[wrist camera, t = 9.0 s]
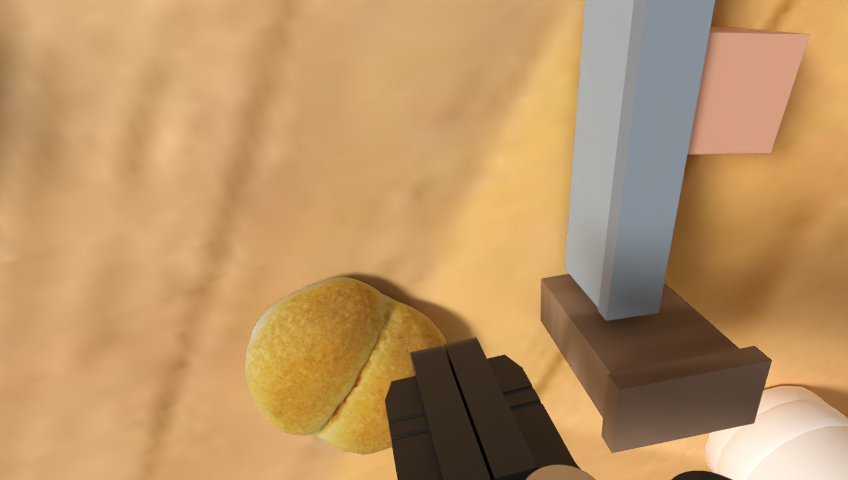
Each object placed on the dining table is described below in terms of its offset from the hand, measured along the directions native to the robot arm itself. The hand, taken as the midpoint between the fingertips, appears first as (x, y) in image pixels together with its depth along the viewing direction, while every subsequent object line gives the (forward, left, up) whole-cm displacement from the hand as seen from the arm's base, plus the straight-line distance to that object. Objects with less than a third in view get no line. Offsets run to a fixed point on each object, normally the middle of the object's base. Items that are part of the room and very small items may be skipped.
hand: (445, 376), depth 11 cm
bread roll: (-8, +3, -11) cm, 14 cm away
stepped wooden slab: (-6, -9, -11) cm, 16 cm away
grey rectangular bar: (+3, -9, -11) cm, 14 cm away
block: (+3, -12, -11) cm, 17 cm away
